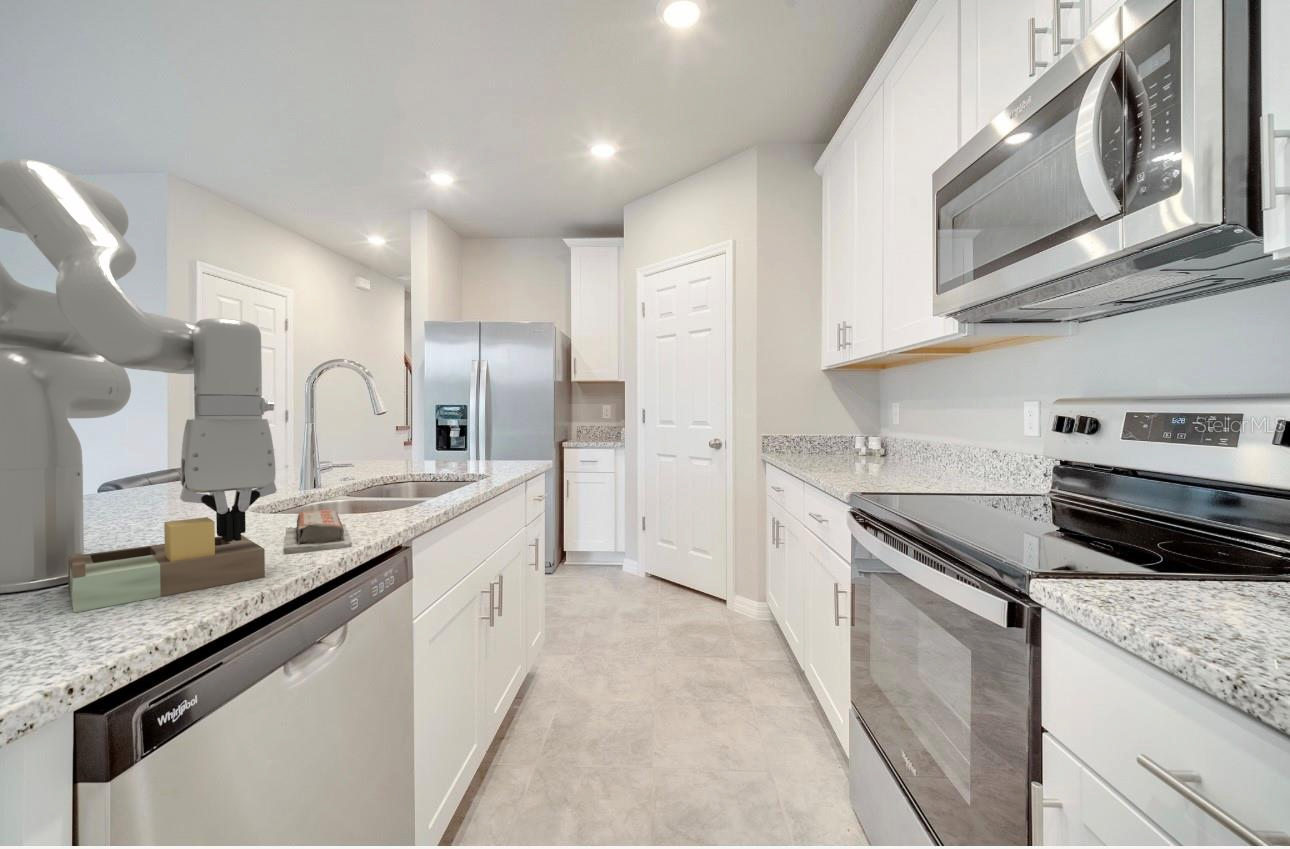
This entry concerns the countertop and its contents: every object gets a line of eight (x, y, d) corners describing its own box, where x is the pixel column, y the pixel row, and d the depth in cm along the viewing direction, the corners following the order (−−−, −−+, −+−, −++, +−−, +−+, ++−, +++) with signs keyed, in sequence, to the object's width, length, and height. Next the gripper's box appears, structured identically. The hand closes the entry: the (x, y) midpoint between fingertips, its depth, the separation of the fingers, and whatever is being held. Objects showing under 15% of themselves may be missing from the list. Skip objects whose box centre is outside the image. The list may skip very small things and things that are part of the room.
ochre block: (164, 555, 72) (164, 522, 72) (207, 549, 75) (207, 517, 75) (170, 561, 69) (170, 526, 69) (214, 554, 72) (214, 521, 72)
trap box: (68, 586, 71) (67, 545, 71) (239, 558, 85) (239, 524, 85) (73, 612, 62) (72, 565, 62) (264, 576, 76) (264, 538, 76)
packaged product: (285, 510, 103) (345, 506, 108) (285, 536, 103) (345, 530, 108) (282, 528, 88) (352, 521, 93) (283, 557, 88) (352, 549, 93)
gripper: (282, 409, 83) (284, 527, 84) (153, 409, 72) (155, 545, 72) (299, 409, 79) (300, 534, 79) (162, 408, 67) (165, 555, 68)
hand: (231, 539), depth 76 cm, fingers closed
